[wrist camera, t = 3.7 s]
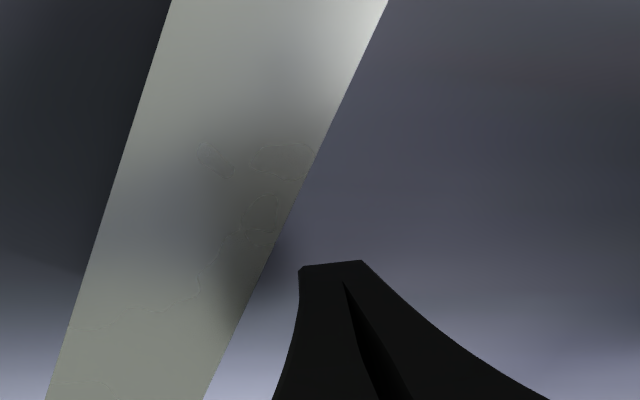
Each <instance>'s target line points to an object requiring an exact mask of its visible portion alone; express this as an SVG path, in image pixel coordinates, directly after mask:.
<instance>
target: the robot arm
mask: <svg viewBox="0 0 640 400" xmlns="http://www.w3.org/2000/svg"><path fill="white" fill-rule="evenodd" d="M298 280H299V307H298V312H297V317H296V323H295V328H294V332H293V337H292V340H291V344H290V347H289V351H288V354H287V357H286V361H285V364H284V367H283V370H282V373H281V376H280V379H279V382H278V384H277V387H276V390H275V392H274V395H273V397H272V400H549V399H548V398H546V397H544V396H542V395H540V394H538V393H536V392H535V391H533V390H531V389H529V388H527V387H525V386H523V385H522V384H520V383H518V382H516V381H515V380H513V379H511V378H510V377H508V376H506V375H505V374H503V373H501V372H500V371H498V370H497V369H495V368H493V367H492V366H490V365H489V364H487V363H486V362H484V361H483V360H481V359H479V358H478V357H476V356H475V355H473V354H472V353H470V352H469V351H467V350H466V349H465V348H463V347H462V346H460V345H459V344H457V343H456V342H455V341H453V340H452V339H451V338H450V337H448V336H447V335H446V334H444V333H443V332H442V331H440V330H439V329H438V328H436V327H435V326H434V325H433V324H431V323H430V322H429V321H428V320H427V319H425V318H424V317H423V316H422V315H421V314H420V313H418V312H417V311H416V310H415V309H414V308H413V307H412V306H410V305H409V304H408V303H407V302H406V301H405V300H404V299H402V298H401V297H400V296H399V295H398V294H397V293H396V292H395V291H394V290H393V289H392V288H391V287H390V286H388V285H387V284H386V283H385V282H384V281H383V280H382V279H381V278H380V277H379V276H378V275H377V274H376V273H375V272H374V271H373V270H372V269H371V268H370V267H369V266H368V265H367V264H366V263H364V262H363V261H362V260H354V261H345V262H336V263H327V264H318V265H309V266H303V267H302V268H301V269H300V270H299V271H298Z"/></svg>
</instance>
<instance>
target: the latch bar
mask: <svg viewBox="0 0 640 400" xmlns="http://www.w3.org/2000/svg"><path fill="white" fill-rule="evenodd" d="M387 2H388V0H172V2H171V5H170V8H169V11H168V14H167V17H166V20H165V24H164V27H163V30H162V33H161V36H160V39H159V42H158V46H157V49H156V52H155V55H154V58H153V61H152V64H151V68H150V71H149V74H148V77H147V80H146V83H145V86H144V90H143V93H142V96H141V99H140V102H139V105H138V108H137V111H136V115H135V118H134V121H133V124H132V127H131V130H130V133H129V137H128V140H127V143H126V146H125V149H124V152H123V155H122V159H121V162H120V165H119V168H118V171H117V174H116V177H115V181H114V184H113V187H112V190H111V193H110V196H109V199H108V203H107V206H106V209H105V212H104V215H103V218H102V221H101V225H100V228H99V231H98V234H97V237H96V240H95V243H94V246H93V250H92V253H91V256H90V259H89V262H88V265H87V268H86V272H85V275H84V278H83V281H82V284H81V287H80V290H79V294H78V297H77V300H76V303H75V306H74V309H73V312H72V316H71V319H70V322H69V325H68V328H67V331H66V334H65V338H64V341H63V344H62V347H61V350H60V353H59V356H58V360H57V363H56V366H55V369H54V372H53V375H52V378H51V381H50V385H49V388H48V391H47V394H46V397H45V400H202V399H203V397H204V395H205V393H206V391H207V389H208V387H209V384H210V382H211V380H212V378H213V376H214V374H215V372H216V369H217V367H218V365H219V363H220V361H221V359H222V356H223V354H224V352H225V350H226V348H227V346H228V344H229V341H230V339H231V337H232V335H233V333H234V331H235V329H236V326H237V324H238V322H239V320H240V318H241V316H242V313H243V311H244V309H245V307H246V305H247V303H248V301H249V298H250V296H251V294H252V292H253V290H254V288H255V286H256V283H257V281H258V279H259V277H260V275H261V273H262V271H263V268H264V266H265V264H266V262H267V260H268V258H269V255H270V253H271V251H272V249H273V247H274V245H275V243H276V240H277V238H278V236H279V234H280V232H281V230H282V228H283V225H284V223H285V221H286V219H287V217H288V215H289V212H290V210H291V208H292V206H293V204H294V202H295V200H296V197H297V195H298V193H299V191H300V189H301V187H302V185H303V182H304V180H305V178H306V176H307V174H308V172H309V170H310V167H311V165H312V163H313V161H314V159H315V157H316V154H317V152H318V150H319V148H320V146H321V144H322V142H323V139H324V137H325V135H326V133H327V131H328V129H329V127H330V124H331V122H332V120H333V118H334V116H335V114H336V111H337V109H338V107H339V105H340V103H341V101H342V99H343V96H344V94H345V92H346V90H347V88H348V86H349V84H350V81H351V79H352V77H353V75H354V73H355V71H356V69H357V66H358V64H359V62H360V60H361V58H362V56H363V53H364V51H365V49H366V47H367V45H368V43H369V41H370V38H371V36H372V34H373V32H374V30H375V28H376V26H377V23H378V21H379V19H380V17H381V15H382V13H383V10H384V8H385V6H386V4H387Z"/></svg>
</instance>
